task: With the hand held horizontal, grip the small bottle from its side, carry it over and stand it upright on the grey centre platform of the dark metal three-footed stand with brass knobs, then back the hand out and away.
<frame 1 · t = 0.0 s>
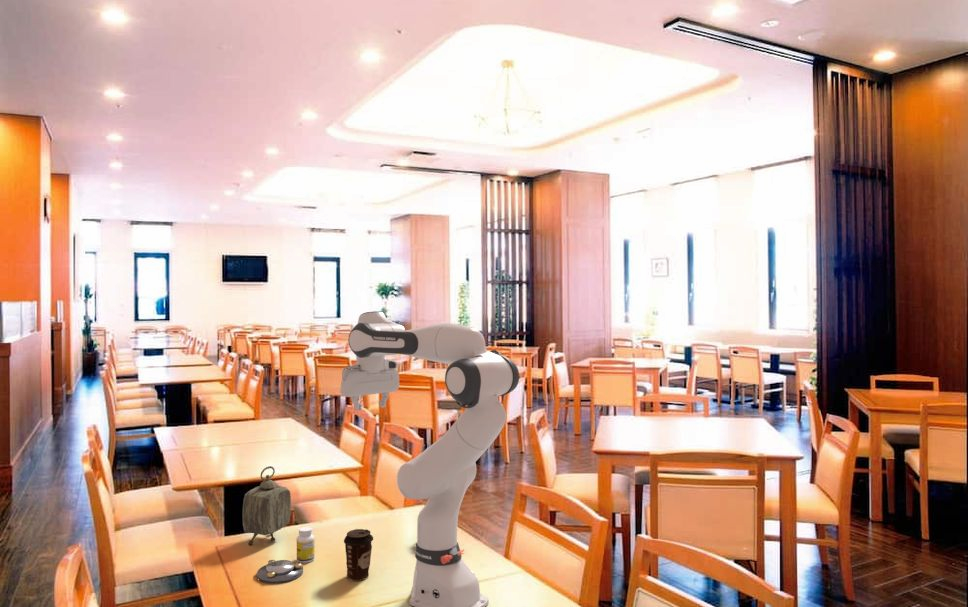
hand: (370, 408, 204), 48 cm above the table, tool pointing down, fingers open, 8 cm apart
tabletop clock: (267, 541, 222), on the table
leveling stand: (280, 574, 196), on the table
supplement box: (440, 539, 226), on the table
coffee cup: (358, 577, 195), on the table
supplement bottle: (305, 560, 207), on the table
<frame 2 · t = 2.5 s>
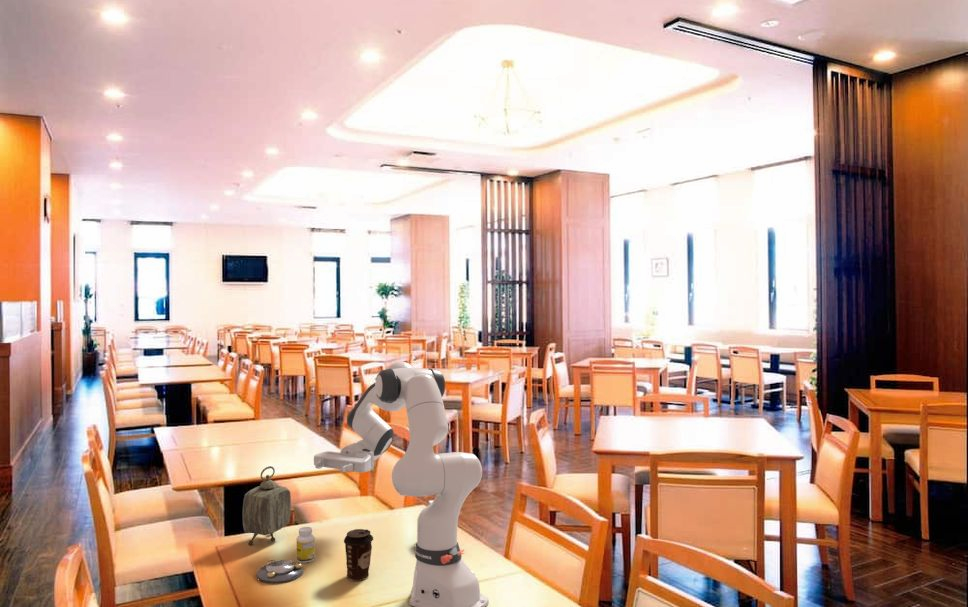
hand: (329, 468, 217), 26 cm above the table, tool horizontal, fingers open, 8 cm apart
nothing on the table moved.
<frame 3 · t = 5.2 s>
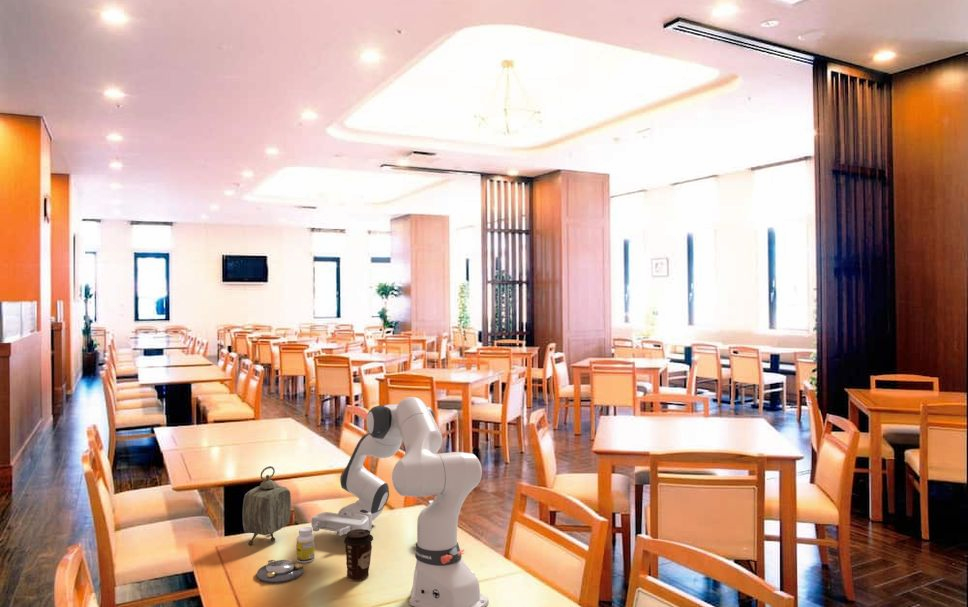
hand: (326, 530, 216), 6 cm above the table, tool horizontal, fingers open, 8 cm apart
nothing on the table moved.
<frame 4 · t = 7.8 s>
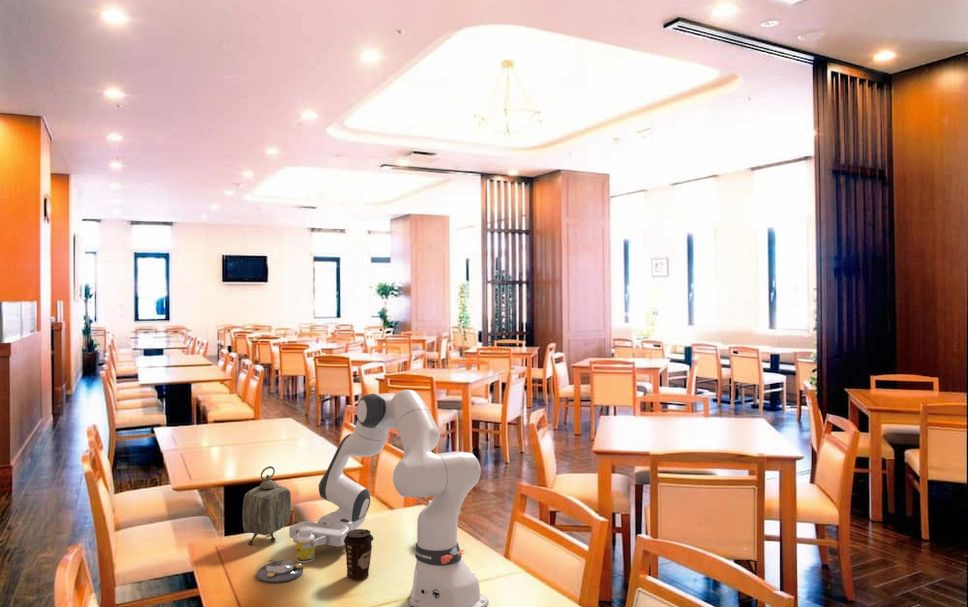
hand: (303, 541, 206), 6 cm above the table, tool horizontal, fingers closed on supplement bottle, 5 cm apart
supplement bottle: (305, 560, 207), on the table, touching gripper
everything else where it was.
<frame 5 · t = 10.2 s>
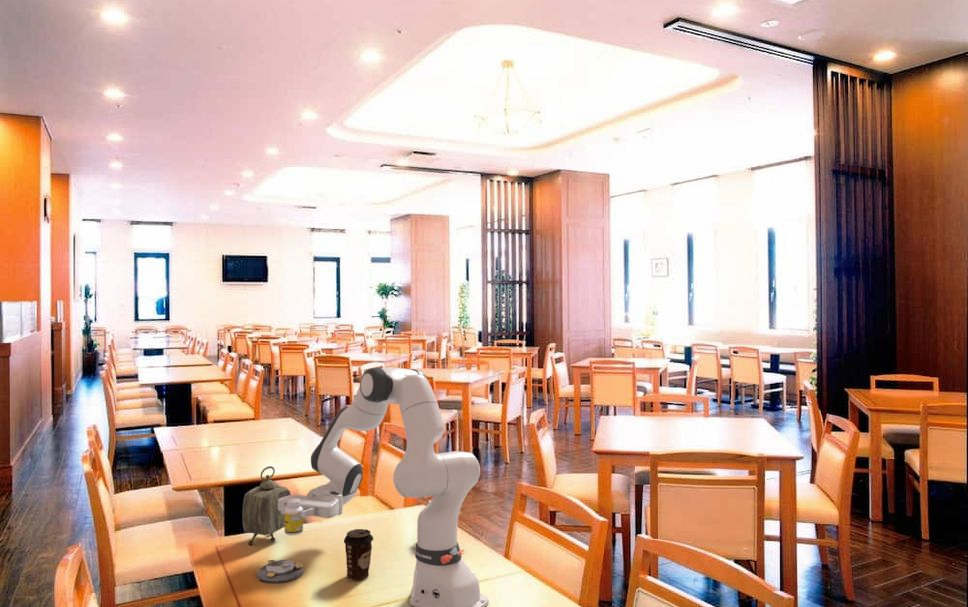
hand: (291, 513, 200), 17 cm above the table, tool horizontal, fingers closed on supplement bottle, 5 cm apart
supplement bottle: (293, 533, 201), point 10 cm above the table, touching gripper
everything else where it was.
when the fingers open (10 cm above the table, at t = 12.8 s): supplement bottle drops 1 cm, resting on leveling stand.
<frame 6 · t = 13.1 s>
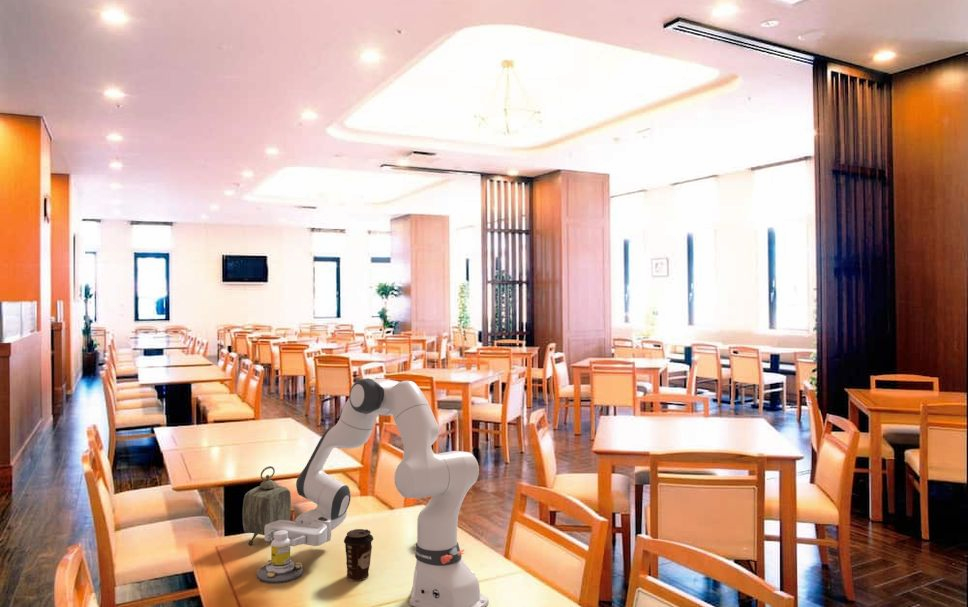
hand: (278, 541, 195), 10 cm above the table, tool horizontal, fingers open, 8 cm apart
supplement bottle: (280, 566, 196), point 2 cm above the table, touching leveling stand
everything else where it was.
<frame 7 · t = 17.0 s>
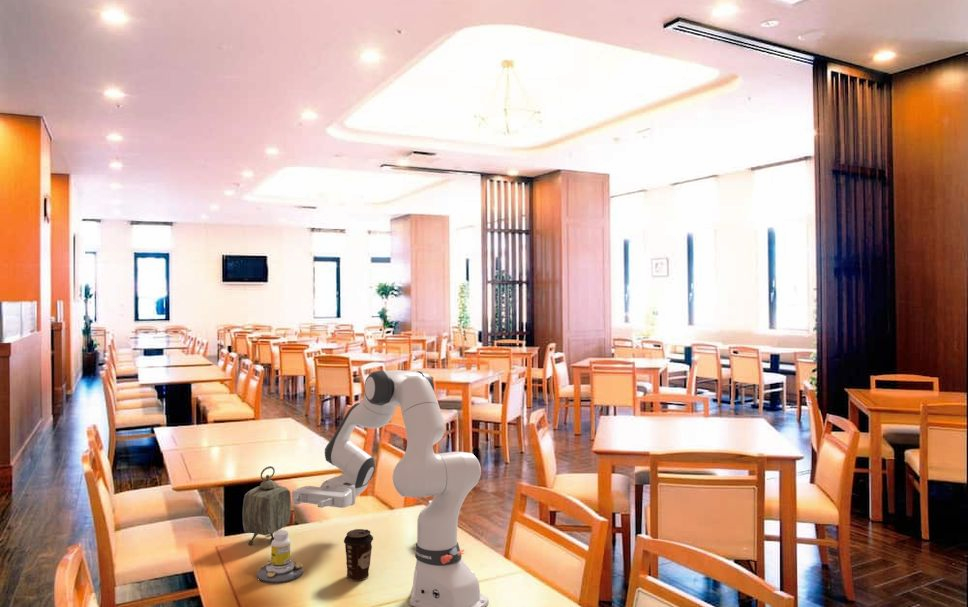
hand: (307, 503, 206), 18 cm above the table, tool horizontal, fingers open, 8 cm apart
nothing on the table moved.
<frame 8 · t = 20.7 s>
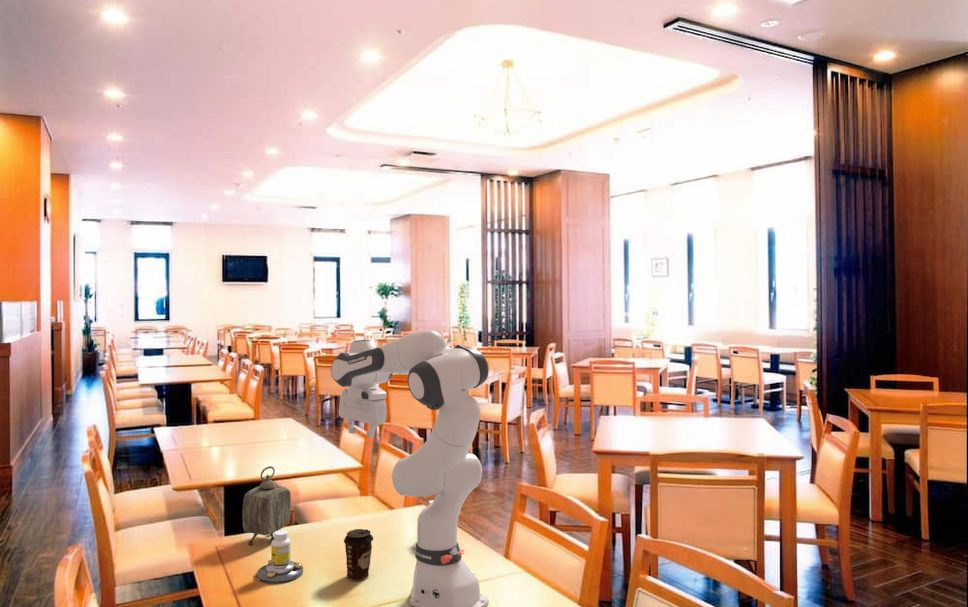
hand: (361, 435, 207), 39 cm above the table, tool pointing down, fingers open, 8 cm apart
nothing on the table moved.
at the end: supplement bottle 0.1 cm off-centre on the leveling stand, point 2.4 cm above the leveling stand's base; supplement bottle tilted 0°; the gripper is holding nothing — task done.
